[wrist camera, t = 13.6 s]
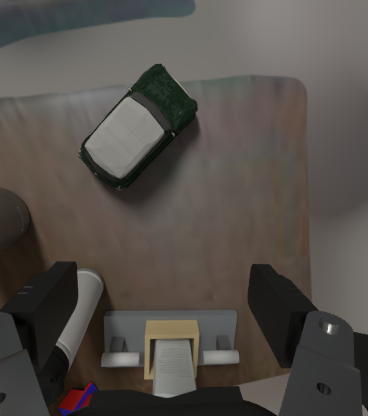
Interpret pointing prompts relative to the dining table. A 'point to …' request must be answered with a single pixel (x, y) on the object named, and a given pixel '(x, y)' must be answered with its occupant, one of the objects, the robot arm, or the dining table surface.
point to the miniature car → (138, 128)
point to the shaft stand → (168, 336)
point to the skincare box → (173, 367)
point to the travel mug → (70, 336)
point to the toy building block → (76, 399)
